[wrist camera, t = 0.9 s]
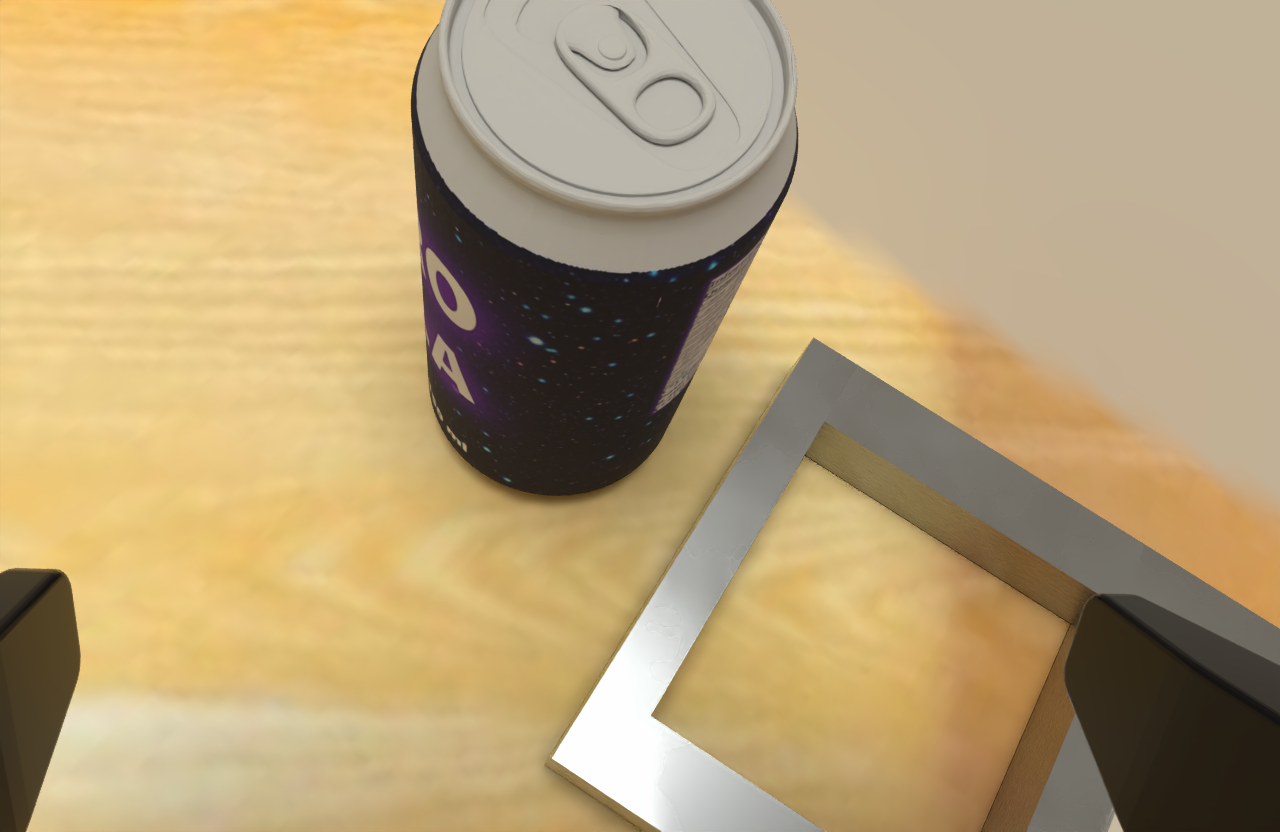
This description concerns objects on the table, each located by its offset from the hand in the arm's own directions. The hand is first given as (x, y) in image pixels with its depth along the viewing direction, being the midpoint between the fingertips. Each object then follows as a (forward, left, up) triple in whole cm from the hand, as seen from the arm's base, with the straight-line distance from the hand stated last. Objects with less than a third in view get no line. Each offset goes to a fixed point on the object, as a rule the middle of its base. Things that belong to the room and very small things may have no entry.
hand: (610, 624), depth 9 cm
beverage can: (+7, -4, -14) cm, 16 cm away
